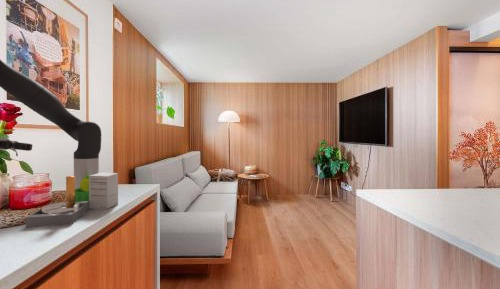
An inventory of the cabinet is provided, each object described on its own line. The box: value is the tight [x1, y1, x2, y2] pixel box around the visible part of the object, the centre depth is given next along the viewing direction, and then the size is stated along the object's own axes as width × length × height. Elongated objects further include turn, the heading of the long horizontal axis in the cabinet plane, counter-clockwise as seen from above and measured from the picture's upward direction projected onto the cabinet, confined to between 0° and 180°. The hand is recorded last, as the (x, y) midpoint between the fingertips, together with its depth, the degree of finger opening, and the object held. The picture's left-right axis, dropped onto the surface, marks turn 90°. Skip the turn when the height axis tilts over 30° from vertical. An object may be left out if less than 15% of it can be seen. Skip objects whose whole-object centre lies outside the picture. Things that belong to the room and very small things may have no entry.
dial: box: [41, 175, 79, 214], centre depth 82 cm, size 10×10×12 cm
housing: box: [25, 201, 91, 228], centre depth 82 cm, size 16×12×5 cm
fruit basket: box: [75, 176, 89, 202], centre depth 101 cm, size 11×9×11 cm
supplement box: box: [89, 172, 119, 210], centre depth 96 cm, size 7×7×13 cm
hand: (31, 147), depth 79 cm, fingers closed
